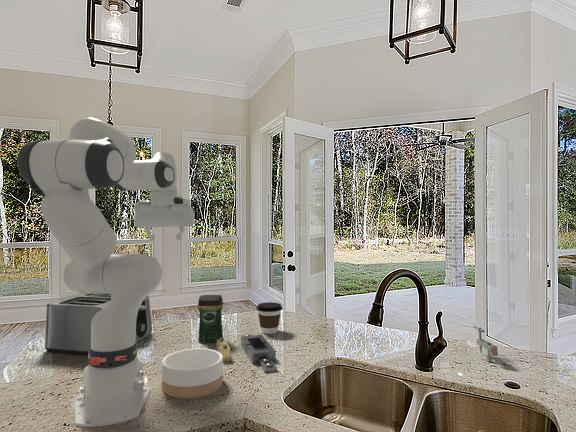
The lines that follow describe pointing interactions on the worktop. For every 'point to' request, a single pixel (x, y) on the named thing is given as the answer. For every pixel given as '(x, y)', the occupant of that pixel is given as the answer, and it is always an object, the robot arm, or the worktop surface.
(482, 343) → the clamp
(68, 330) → the toaster
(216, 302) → the coffee jar
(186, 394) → the bowl
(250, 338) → the chain end far
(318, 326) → the worktop surface
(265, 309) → the coffee cup
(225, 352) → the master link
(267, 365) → the chain end near
